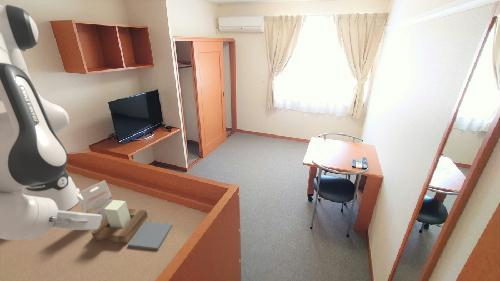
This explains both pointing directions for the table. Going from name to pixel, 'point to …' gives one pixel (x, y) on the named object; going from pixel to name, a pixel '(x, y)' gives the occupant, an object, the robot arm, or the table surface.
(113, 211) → the sage block
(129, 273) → the table surface
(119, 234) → the walnut puzzle board
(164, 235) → the slate rubber pad
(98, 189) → the ink cartridge box
